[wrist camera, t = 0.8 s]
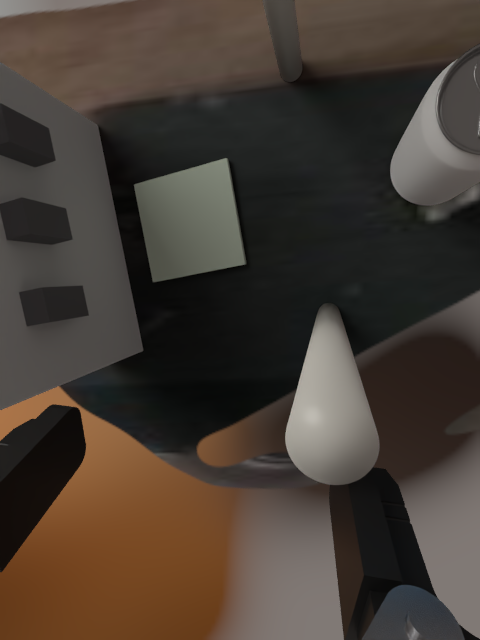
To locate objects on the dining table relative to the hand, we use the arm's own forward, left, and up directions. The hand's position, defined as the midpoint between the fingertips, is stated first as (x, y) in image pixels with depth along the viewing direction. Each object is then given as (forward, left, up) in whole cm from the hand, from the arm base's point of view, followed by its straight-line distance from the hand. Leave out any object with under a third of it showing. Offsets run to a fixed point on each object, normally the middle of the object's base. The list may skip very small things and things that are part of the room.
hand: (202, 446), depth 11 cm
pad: (-5, -13, -24) cm, 28 cm away
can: (-18, +5, -24) cm, 30 cm away
